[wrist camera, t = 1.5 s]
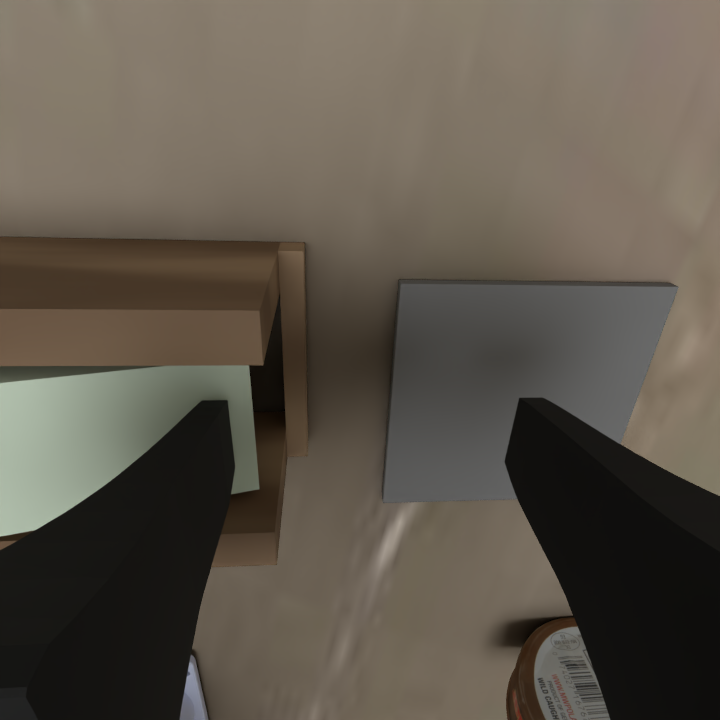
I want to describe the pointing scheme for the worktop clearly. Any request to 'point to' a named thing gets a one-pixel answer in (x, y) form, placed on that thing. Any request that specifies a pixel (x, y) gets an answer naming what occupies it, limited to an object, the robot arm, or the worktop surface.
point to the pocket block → (170, 336)
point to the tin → (555, 677)
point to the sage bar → (102, 429)
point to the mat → (507, 373)
